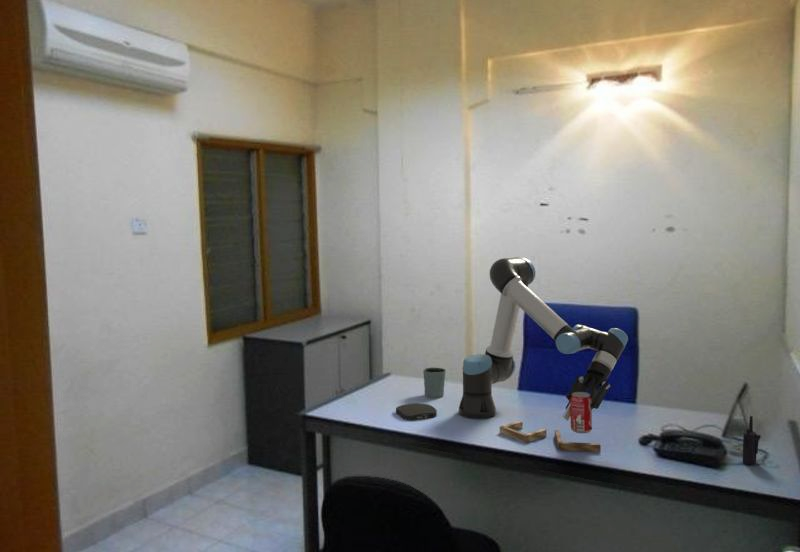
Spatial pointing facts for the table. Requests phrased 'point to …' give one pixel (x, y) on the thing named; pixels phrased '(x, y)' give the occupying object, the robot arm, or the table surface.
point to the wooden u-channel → (511, 432)
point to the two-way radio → (750, 444)
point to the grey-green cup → (434, 382)
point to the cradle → (576, 445)
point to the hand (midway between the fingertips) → (571, 420)
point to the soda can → (581, 412)
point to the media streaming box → (416, 411)
